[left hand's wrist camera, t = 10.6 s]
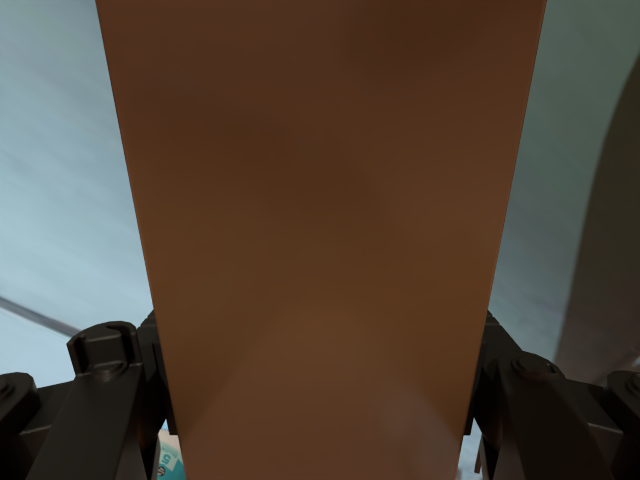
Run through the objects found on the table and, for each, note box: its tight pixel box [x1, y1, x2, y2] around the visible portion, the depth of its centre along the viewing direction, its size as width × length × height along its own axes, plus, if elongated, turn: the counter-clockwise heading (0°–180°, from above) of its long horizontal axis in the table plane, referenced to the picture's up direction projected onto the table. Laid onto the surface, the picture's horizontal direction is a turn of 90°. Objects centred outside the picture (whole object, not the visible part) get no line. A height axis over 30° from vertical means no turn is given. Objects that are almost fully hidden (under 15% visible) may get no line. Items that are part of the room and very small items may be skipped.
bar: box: [95, 0, 547, 480], centre depth 8 cm, size 23×6×8 cm, turn 0°
